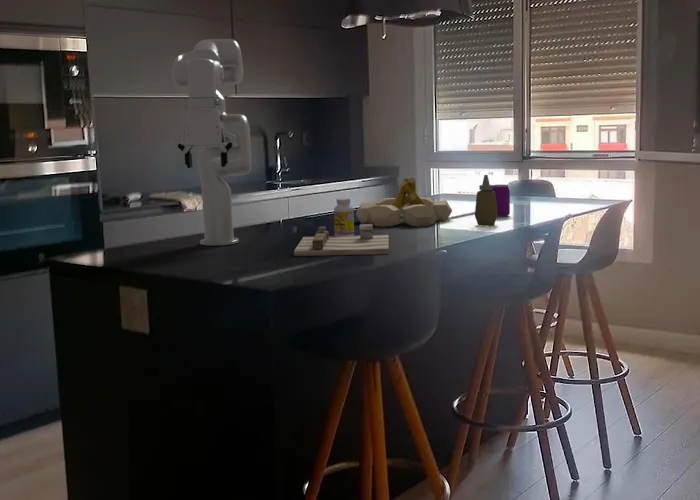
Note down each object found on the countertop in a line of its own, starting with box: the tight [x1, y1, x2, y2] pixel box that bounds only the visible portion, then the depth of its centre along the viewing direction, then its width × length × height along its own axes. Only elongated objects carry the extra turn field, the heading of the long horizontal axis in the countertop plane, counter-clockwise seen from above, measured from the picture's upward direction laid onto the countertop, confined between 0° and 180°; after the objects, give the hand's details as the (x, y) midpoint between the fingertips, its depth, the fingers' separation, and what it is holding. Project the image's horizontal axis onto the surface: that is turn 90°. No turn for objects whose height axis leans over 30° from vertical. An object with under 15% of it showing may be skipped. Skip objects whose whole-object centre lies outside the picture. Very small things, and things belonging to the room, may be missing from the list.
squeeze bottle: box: [474, 174, 498, 227], centre depth 296 cm, size 8×8×18 cm
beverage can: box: [492, 184, 511, 218], centre depth 320 cm, size 8×8×12 cm
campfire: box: [355, 176, 453, 227], centre depth 314 cm, size 35×34×17 cm
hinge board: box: [293, 223, 390, 257], centre depth 258 cm, size 28×28×6 cm
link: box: [312, 230, 330, 249], centre depth 256 cm, size 20×4×2 cm, turn 177°
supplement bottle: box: [333, 197, 355, 236], centre depth 280 cm, size 7×7×13 cm
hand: (206, 167), depth 231 cm, fingers open, 9 cm apart
